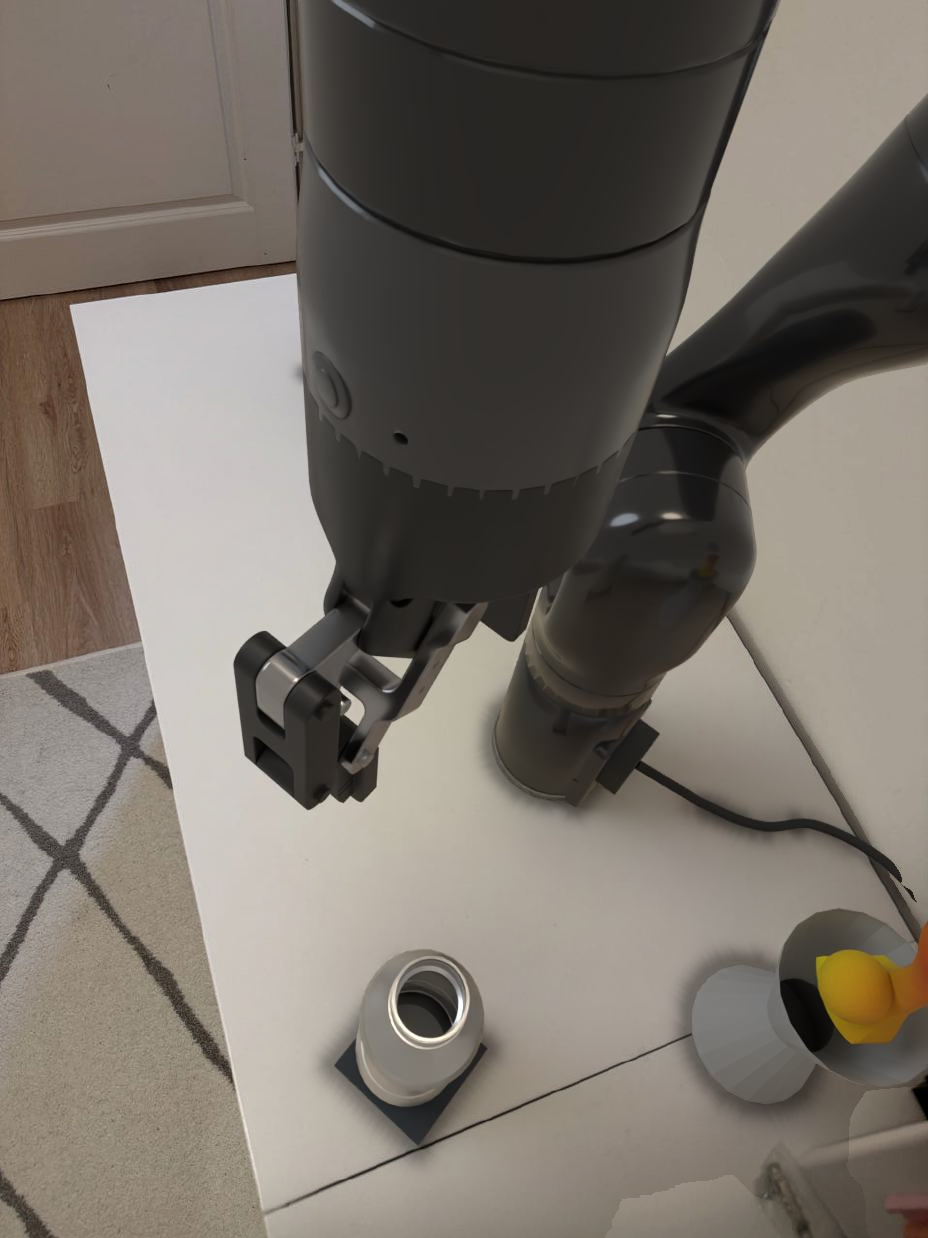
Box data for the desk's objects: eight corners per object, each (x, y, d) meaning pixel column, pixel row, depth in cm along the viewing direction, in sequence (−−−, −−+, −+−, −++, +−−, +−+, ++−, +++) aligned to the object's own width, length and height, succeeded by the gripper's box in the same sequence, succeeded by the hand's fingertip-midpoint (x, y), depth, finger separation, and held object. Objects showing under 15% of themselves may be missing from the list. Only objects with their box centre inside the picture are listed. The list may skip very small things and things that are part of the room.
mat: (486, 1049, 58) (488, 1048, 58) (417, 1146, 55) (418, 1146, 54) (405, 976, 60) (406, 975, 60) (334, 1066, 57) (334, 1065, 56)
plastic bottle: (461, 1001, 59) (507, 931, 42) (448, 1117, 55) (494, 1090, 39) (364, 988, 59) (372, 911, 42) (346, 1103, 55) (346, 1070, 38)
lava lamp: (800, 961, 64) (1193, 774, 34) (832, 1105, 59) (1321, 1031, 29) (678, 963, 63) (975, 771, 33) (701, 1109, 58) (1070, 1037, 28)
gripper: (390, 666, 15) (371, 916, 28) (785, 280, 21) (616, 633, 35) (86, 428, 17) (206, 769, 30) (536, 144, 23) (468, 528, 37)
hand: (426, 696), depth 33 cm, fingers open, 8 cm apart
